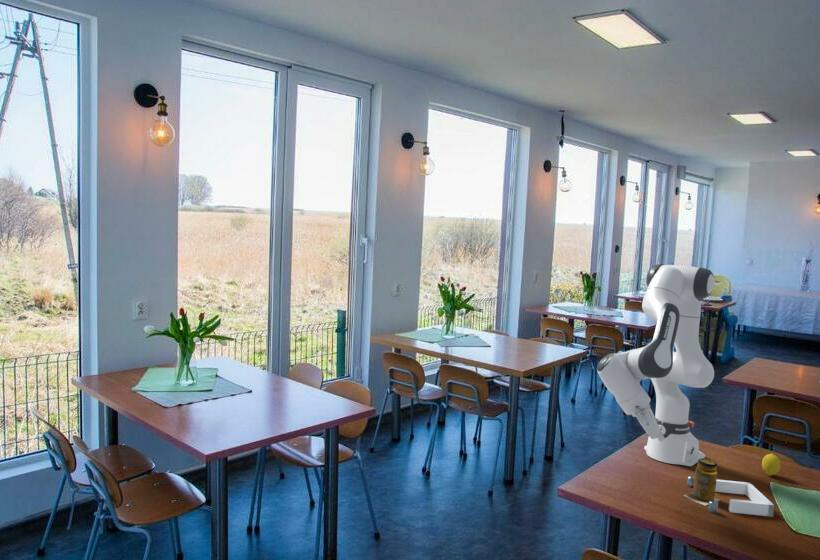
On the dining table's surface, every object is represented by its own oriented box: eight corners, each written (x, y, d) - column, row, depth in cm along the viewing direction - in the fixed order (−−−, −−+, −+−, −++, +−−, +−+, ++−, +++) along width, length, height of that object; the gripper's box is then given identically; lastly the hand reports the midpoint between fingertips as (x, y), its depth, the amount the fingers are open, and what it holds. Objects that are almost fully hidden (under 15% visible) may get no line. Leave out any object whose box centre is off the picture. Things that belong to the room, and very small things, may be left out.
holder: (730, 512, 180) (731, 501, 179) (709, 489, 196) (711, 478, 195) (773, 516, 179) (774, 505, 178) (748, 493, 194) (749, 482, 194)
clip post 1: (689, 483, 199) (690, 475, 199) (696, 486, 197) (697, 477, 197) (685, 485, 197) (686, 476, 197) (692, 488, 195) (693, 479, 195)
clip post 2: (710, 509, 181) (712, 499, 181) (718, 512, 179) (719, 502, 179) (706, 510, 180) (707, 501, 179) (714, 514, 178) (715, 504, 177)
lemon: (774, 473, 213) (776, 451, 212) (782, 479, 207) (784, 457, 207) (757, 471, 213) (760, 449, 213) (765, 478, 208) (768, 455, 207)
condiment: (720, 500, 188) (724, 463, 186) (704, 506, 183) (709, 468, 182) (697, 491, 194) (702, 455, 192) (682, 496, 189) (686, 459, 188)
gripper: (648, 407, 177) (677, 446, 176) (639, 387, 197) (665, 422, 196) (629, 418, 178) (658, 456, 178) (622, 397, 198) (648, 432, 197)
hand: (662, 438), depth 187 cm, fingers closed
